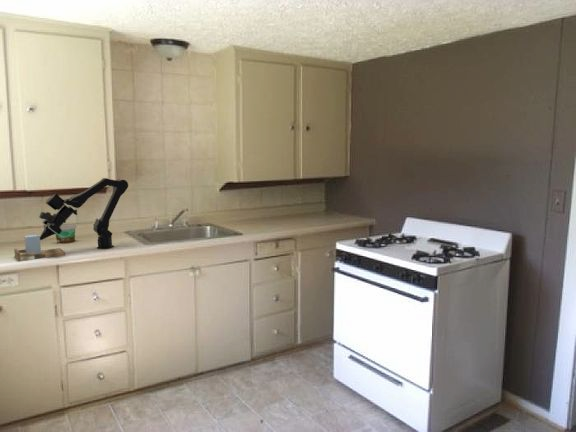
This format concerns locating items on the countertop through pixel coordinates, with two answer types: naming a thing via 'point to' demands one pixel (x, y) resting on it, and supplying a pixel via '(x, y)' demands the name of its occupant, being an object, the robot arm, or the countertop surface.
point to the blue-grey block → (33, 244)
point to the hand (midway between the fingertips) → (39, 239)
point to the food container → (66, 234)
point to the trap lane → (23, 256)
